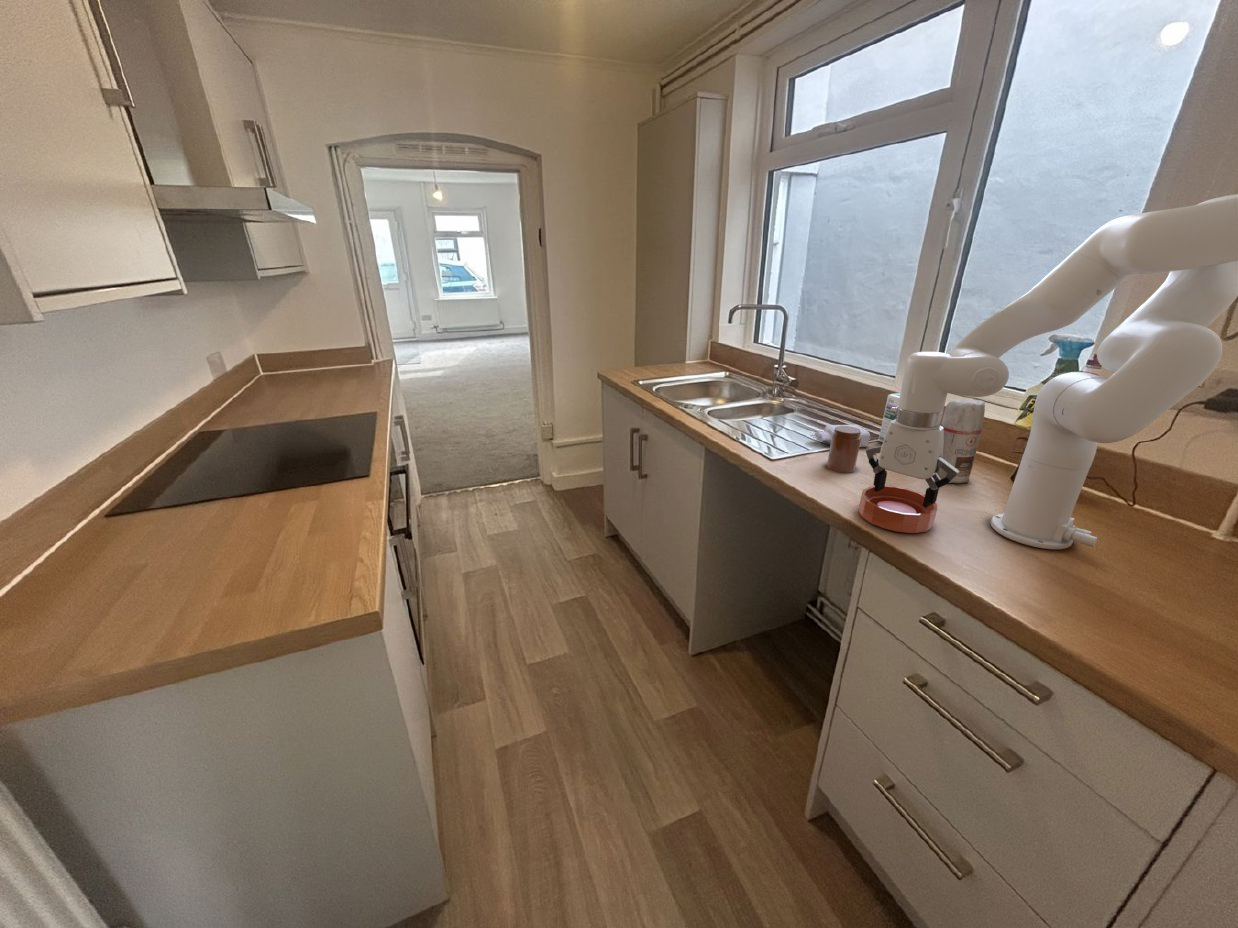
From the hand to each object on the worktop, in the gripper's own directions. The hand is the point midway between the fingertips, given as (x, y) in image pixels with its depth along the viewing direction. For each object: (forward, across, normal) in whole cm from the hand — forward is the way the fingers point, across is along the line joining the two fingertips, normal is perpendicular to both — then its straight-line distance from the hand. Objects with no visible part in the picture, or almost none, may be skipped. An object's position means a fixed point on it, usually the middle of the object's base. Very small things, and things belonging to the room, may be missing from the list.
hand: (902, 497), depth 99 cm
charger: (+5, -33, +32) cm, 47 cm away
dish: (+5, 0, -1) cm, 5 cm away
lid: (+3, 0, -1) cm, 3 cm away
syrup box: (+5, -23, +46) cm, 52 cm away
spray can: (+6, -2, +31) cm, 32 cm away
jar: (+4, -22, +16) cm, 28 cm away
